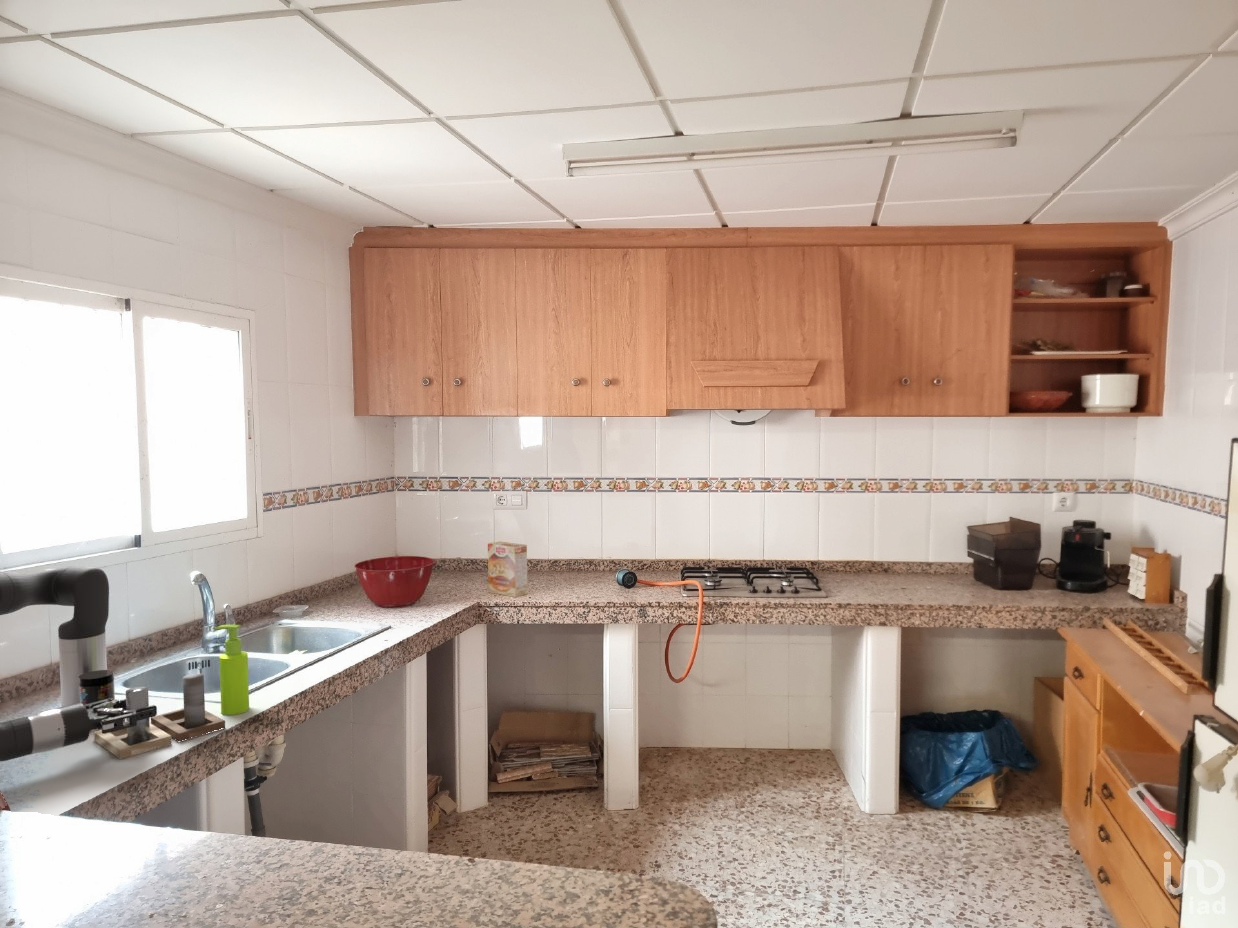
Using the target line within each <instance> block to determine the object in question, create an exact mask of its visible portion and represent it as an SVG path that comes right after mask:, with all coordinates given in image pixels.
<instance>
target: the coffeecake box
mask: <svg viewBox="0 0 1238 928" xmlns="http://www.w3.org/2000/svg"><path fill="white" fill-rule="evenodd" d="M527 547H528V545H527V544H522V543H515V542H508V541H507V542H506V541H495V542H494V541H492V542H488V543H487V577H488V579H487V580H488V583H487V584H488V586H487V587H488V592H487V593H489V594H490V593H491V594H494V595H495V594H496V595H500V596H501V595H502V596H507V597H512V598H517V597H521V596H522V597H523V596H525V595H528V550H527V549H528V548H527Z"/></svg>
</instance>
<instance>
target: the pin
mask: <svg viewBox="0 0 1238 928" xmlns="http://www.w3.org/2000/svg"><path fill="white" fill-rule="evenodd" d="M125 699H126V710H135V709H139V708H143V707H147V706H150V703H149V702H150V701H149V699H150V697H149V687H147V686H136V687H131V688H129V689H125ZM126 720H129V718H126ZM149 723H150V718H146V719H143V720H139V721H137V725H136V726H134V727H130V728H127V733H126V734H127V742H128V745H129V746H131V745H134V744H138V743H141V742H145V741H149V740H150V724H149Z"/></svg>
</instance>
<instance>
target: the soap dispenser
mask: <svg viewBox="0 0 1238 928" xmlns="http://www.w3.org/2000/svg"><path fill="white" fill-rule="evenodd" d="M213 629H214V631H217V630H228V638H227V639H226V640H225V641H224V650H225V651H224V653H223V654H220V655H219V685H220V711H221V712H220V713H221V714H222V715H226V716H235V715H241V714H243V713H247V712H248V711H249V710H250V693H249V692H250V690H249V661H248V660H249V659H248V655H249V654H248V652H246V651H242V639H241V638H240V637H238V630H240V629H241V625H240V624H222V625H219V626H216V627H214V628H213ZM247 710H248V711H247Z"/></svg>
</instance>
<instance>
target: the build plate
mask: <svg viewBox="0 0 1238 928" xmlns="http://www.w3.org/2000/svg"><path fill="white" fill-rule="evenodd" d="M149 724H150V740H149V741H145V742H141V743H138V744H134V745H131V746H129V745H128V742H127V728H126V729H122V730H118V731H114V732H110V733H106V734H102V730H96V731H94V732H93V740H94V742H96V743H97V744H99V745H100V746H102V748H104V749H106V750H107V751H109V752H110V753H112V754H113V755H114V756H116V757H117V758H118V759H120V760H122V759H125V758H129V757H132V756H135V755H139V754H143V753H145V752H150V751H153V749H154V750H157V749H160V748H159V747H161V748H164V747H167V746H166V745H168V746H170V745H169V744H171V743H172V737H171V735H169V734H167V733H166V732H164V731H162V730H161V729H159V728H157V727H156V726H154V725H152V724H151V722H149ZM124 725H125V724H124ZM171 745H172V744H171ZM156 748H157V749H156ZM149 750H150V751H149ZM142 752H143V753H142Z"/></svg>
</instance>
